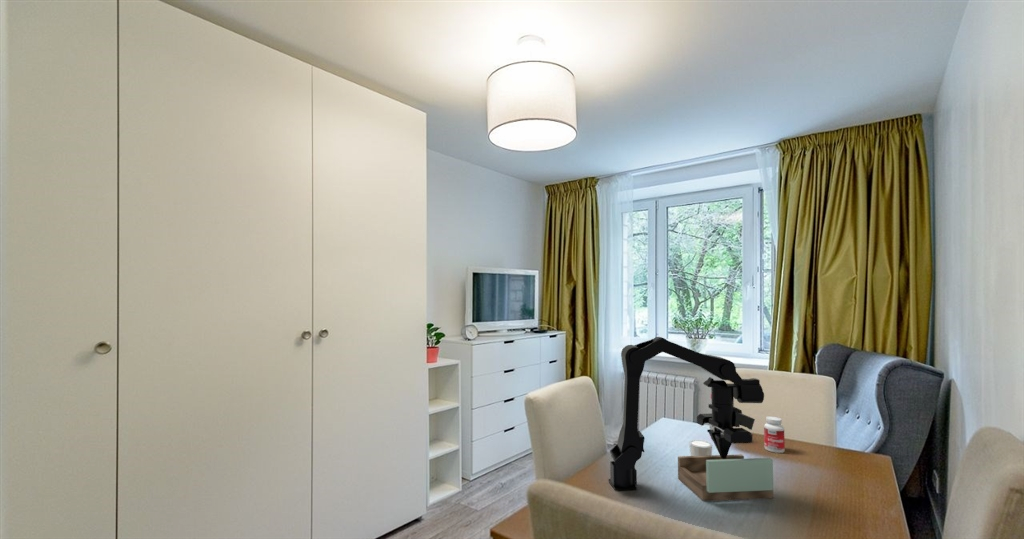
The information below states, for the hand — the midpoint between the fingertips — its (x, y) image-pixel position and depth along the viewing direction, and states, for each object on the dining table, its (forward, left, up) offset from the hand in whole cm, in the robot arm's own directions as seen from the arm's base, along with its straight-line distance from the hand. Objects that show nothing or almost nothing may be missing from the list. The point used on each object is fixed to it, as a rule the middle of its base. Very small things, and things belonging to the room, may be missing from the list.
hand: (723, 458), depth 126 cm
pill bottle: (+35, +27, -9) cm, 45 cm away
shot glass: (+2, +16, -9) cm, 19 cm away
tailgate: (0, -7, -6) cm, 9 cm away
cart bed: (0, 0, -8) cm, 8 cm away
